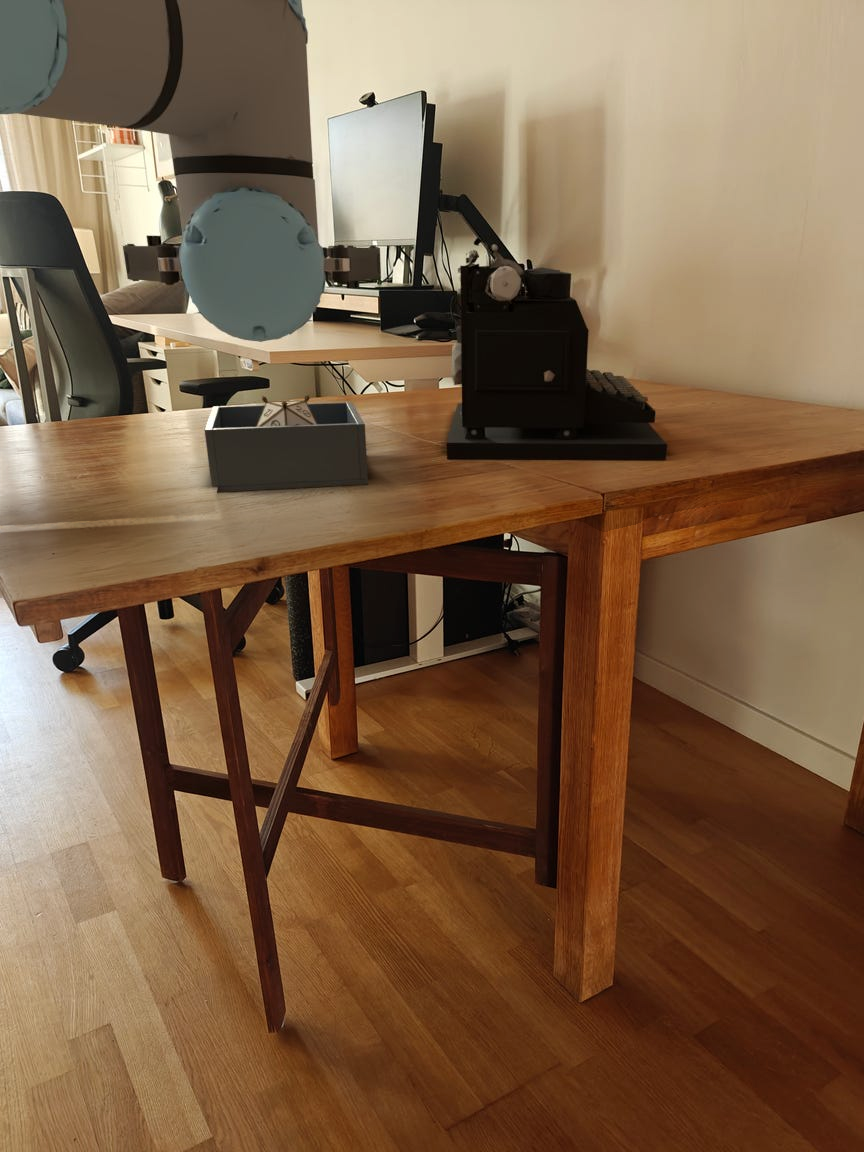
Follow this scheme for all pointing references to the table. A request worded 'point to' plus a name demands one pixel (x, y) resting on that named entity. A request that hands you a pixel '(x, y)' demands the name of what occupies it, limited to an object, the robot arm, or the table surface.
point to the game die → (286, 413)
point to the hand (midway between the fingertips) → (257, 261)
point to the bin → (286, 449)
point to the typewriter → (537, 375)
